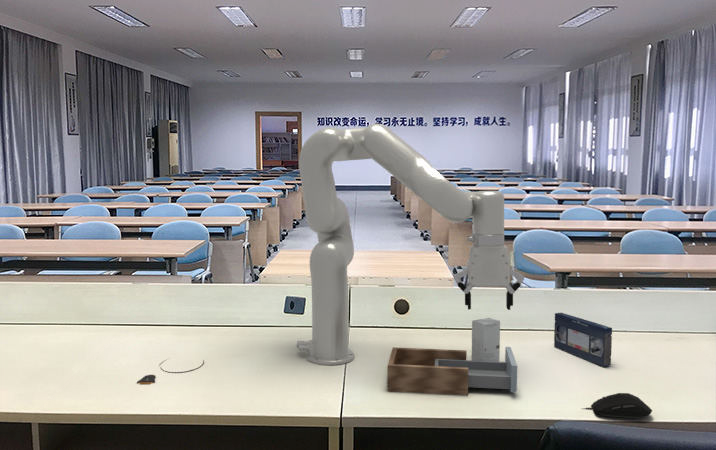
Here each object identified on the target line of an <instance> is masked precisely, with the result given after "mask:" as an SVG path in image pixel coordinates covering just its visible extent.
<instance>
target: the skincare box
mask: <svg viewBox="0 0 716 450" xmlns="http://www.w3.org/2000/svg"><path fill="white" fill-rule="evenodd" d="M471 321H472V322H471V324H472V325H471V356H470V357H471V360H474V361H496V362H500V348H501V346H500V345H501V343H500V340H501V338H500V337H501V321H500V320H498V319H495V318H491V317H485V318H478V319H474V320H471Z"/></svg>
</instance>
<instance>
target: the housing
mask: <svg viewBox="0 0 716 450" xmlns="http://www.w3.org/2000/svg"><path fill="white" fill-rule="evenodd" d="M467 354H468V353H467V350H465V349H463V350H462V349H446V348H445V349H444V348H443V349H442V348H441V349H439V348H438V349H437V348H436V349H435V348H418V347H417V348H416V347H392V349H391V352H390V355H389V359H388V363H387V371H386V372H387V375H386V376H387V377H386V378H387V382H386V384H387V389H386V390H387V391H386V392H394V393H414V394H415V393H416V394H434V395H450V396H466V397H467V396H468V395H469V387H468V368H466V367H444V366H435V359H451V360H467Z"/></svg>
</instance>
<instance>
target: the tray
mask: <svg viewBox="0 0 716 450" xmlns="http://www.w3.org/2000/svg"><path fill="white" fill-rule="evenodd" d="M504 356H505V357H504V359H505V360H504V361H499V362H496V361H474V360H470V359H468V360H467V359H466V360H451V359H435V366H444V367H466V368H468V388H478V389H479V388H481V389H495V390H496V389H497V390H498V389H500V390H509V391H510V393H517V391H518V390H517V384H518V383H517V381H518V364H517V361H516V359H515V356H514V353H513V350H512V347H511V346H505V355H504Z"/></svg>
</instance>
